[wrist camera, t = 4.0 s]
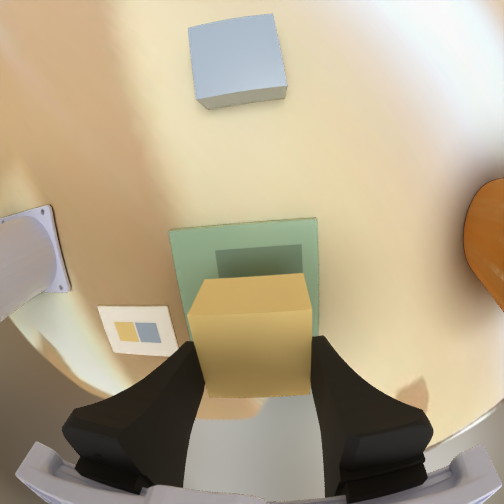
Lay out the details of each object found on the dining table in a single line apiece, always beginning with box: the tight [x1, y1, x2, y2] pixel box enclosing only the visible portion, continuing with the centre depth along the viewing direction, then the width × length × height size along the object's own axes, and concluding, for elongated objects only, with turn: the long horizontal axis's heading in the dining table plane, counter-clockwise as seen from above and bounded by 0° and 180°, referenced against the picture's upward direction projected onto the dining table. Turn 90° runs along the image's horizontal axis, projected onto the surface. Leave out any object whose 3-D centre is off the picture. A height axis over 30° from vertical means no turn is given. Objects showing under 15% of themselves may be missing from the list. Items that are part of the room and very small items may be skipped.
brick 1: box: [188, 14, 287, 110], centre depth 14 cm, size 5×5×4 cm
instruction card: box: [97, 305, 179, 356], centre depth 23 cm, size 7×5×1 cm
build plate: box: [169, 218, 319, 341], centre depth 20 cm, size 10×9×1 cm
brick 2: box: [187, 273, 312, 398], centre depth 13 cm, size 5×5×4 cm
